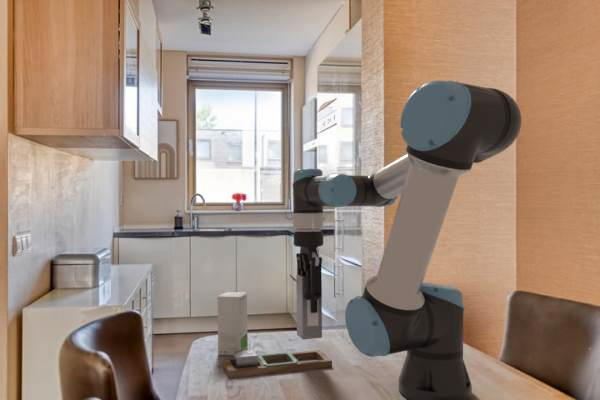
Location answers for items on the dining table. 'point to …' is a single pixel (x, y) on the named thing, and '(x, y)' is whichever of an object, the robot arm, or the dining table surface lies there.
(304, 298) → the brushed grey block
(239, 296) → the skincare box
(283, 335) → the dining table surface
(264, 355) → the wooden holder tray
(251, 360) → the grey concrete cube
